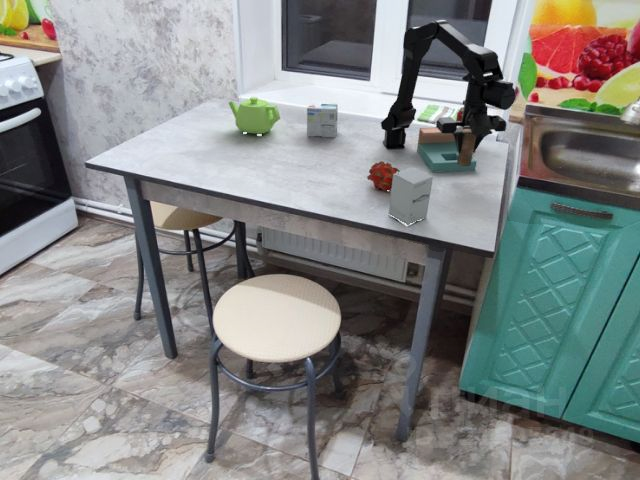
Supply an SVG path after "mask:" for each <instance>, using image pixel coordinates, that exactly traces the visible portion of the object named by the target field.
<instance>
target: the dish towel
mask: <svg viewBox="0 0 640 480" xmlns="http://www.w3.org/2000/svg"><path fill="white" fill-rule="evenodd" d="M459 110H460V108H452V107H449V106H446V105H435V104H428V105H427V106H426V108H425V109H424V111H423V112H421V113H420V114H419V116H418V117H417V119H416V120H419V121H418V122H422V121H425V122H424V123H428V122H431V123H430V124H433V123H437V120H438V119H439V118H442V117H451V118H452V119H453V120H454V121H456V118H457V113H458V112H459Z"/></svg>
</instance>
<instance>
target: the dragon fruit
mask: <svg viewBox="0 0 640 480" xmlns="http://www.w3.org/2000/svg"><path fill="white" fill-rule="evenodd" d="M400 171H401V170H400V169H398V167H393V166H392V164H391V163H389V162H386V163H385V161H382V160H381V161H379V162H375V163H374V164H373V165H371V168H370V169H369V170H368V173H369V175H368V176H367V180H370V181H371V182H372V183H373V185H374V188H375V190H378V189H379V188H380V189H382V190H383V191H385V192H387V190H391V189H392V180H393V174H395V173H398V172H400Z"/></svg>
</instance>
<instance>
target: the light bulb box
mask: <svg viewBox="0 0 640 480" xmlns="http://www.w3.org/2000/svg"><path fill="white" fill-rule="evenodd" d="M338 108H339V107H338V103H337V102H336V103H335V102H334V103H333V102H331V103H330V102H312V101H311V102H310V101H309V103H308V105H307V107H306V131H307V133H306V136H307V137H314V136H322V137H321V138H334V137H335V138H336V137H337V132H338V111H339V109H338Z"/></svg>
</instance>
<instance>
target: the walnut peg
mask: <svg viewBox="0 0 640 480" xmlns="http://www.w3.org/2000/svg"><path fill="white" fill-rule="evenodd" d="M463 133H464V134H465V135H464V136H463V139H462V147H461V152H460V153H459V154H458V160H457V164H458V165H460V166H470V165H471V160H472V157H473V154H474V153H473V150H474V145H475V140H476V135H473V134H472V132H471V129H464V130H463Z"/></svg>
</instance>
